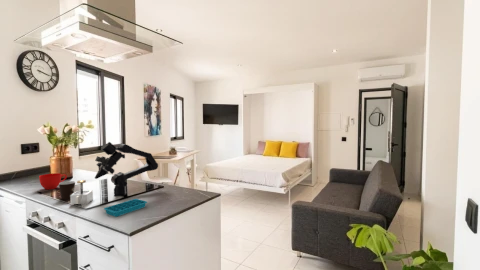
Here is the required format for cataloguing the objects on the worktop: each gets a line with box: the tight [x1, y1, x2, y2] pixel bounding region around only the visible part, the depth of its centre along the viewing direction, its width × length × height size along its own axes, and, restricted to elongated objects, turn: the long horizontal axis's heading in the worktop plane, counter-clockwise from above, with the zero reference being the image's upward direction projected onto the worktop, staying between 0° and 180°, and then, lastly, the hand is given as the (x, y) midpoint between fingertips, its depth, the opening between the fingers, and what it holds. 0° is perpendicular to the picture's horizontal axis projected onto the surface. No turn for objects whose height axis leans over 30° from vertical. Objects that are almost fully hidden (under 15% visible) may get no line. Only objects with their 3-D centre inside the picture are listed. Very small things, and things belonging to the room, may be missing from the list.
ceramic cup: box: [38, 172, 68, 190], centre depth 182 cm, size 13×17×10 cm
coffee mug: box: [58, 180, 76, 200], centre depth 159 cm, size 12×9×10 cm
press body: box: [69, 189, 94, 206], centre depth 148 cm, size 9×12×6 cm
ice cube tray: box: [103, 198, 148, 218], centre depth 136 cm, size 12×20×3 cm, turn 148°
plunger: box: [74, 179, 90, 195], centre depth 149 cm, size 7×7×8 cm
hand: (95, 178), depth 154 cm, fingers closed
